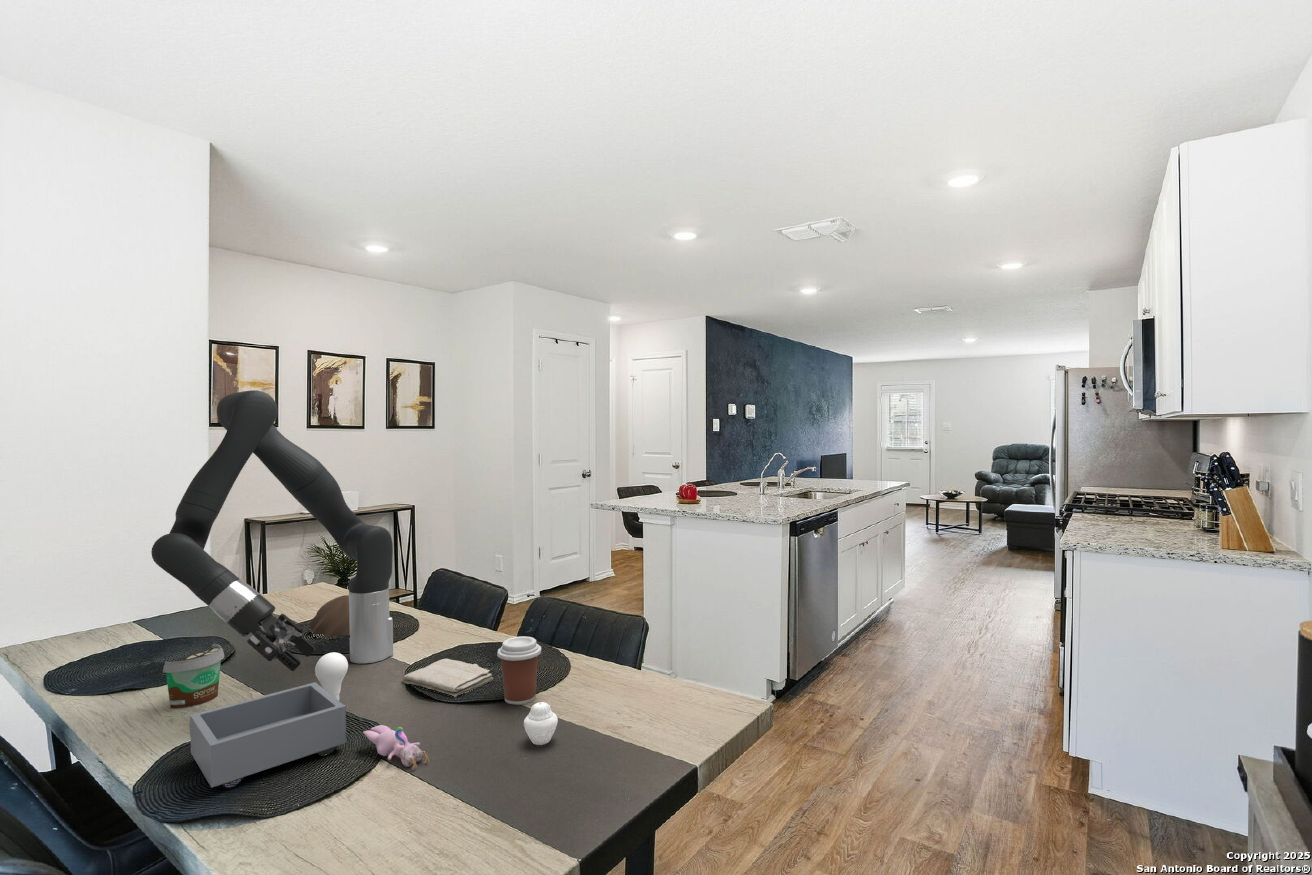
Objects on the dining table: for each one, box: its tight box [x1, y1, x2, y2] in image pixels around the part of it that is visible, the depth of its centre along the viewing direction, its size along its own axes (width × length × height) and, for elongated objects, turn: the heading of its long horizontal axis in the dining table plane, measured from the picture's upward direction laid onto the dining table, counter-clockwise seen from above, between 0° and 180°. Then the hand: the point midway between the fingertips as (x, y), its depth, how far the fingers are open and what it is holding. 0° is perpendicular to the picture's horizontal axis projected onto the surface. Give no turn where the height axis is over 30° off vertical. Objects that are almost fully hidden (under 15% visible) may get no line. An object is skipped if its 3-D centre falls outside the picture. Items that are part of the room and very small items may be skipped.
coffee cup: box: [496, 635, 542, 706], centre depth 136 cm, size 9×9×12 cm
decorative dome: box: [308, 594, 350, 637], centre depth 187 cm, size 19×20×10 cm
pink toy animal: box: [362, 724, 430, 771], centre depth 113 cm, size 6×6×15 cm
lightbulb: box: [314, 652, 349, 701], centre depth 134 cm, size 6×6×11 cm
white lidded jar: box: [523, 701, 559, 746], centre depth 117 cm, size 6×6×7 cm
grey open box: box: [189, 681, 347, 789], centre depth 113 cm, size 20×16×8 cm
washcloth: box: [402, 658, 494, 698], centre depth 147 cm, size 12×18×3 cm, turn 61°
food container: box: [162, 643, 225, 709], centre depth 138 cm, size 12×6×10 cm, turn 168°
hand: (305, 659), depth 133 cm, fingers open, 8 cm apart
